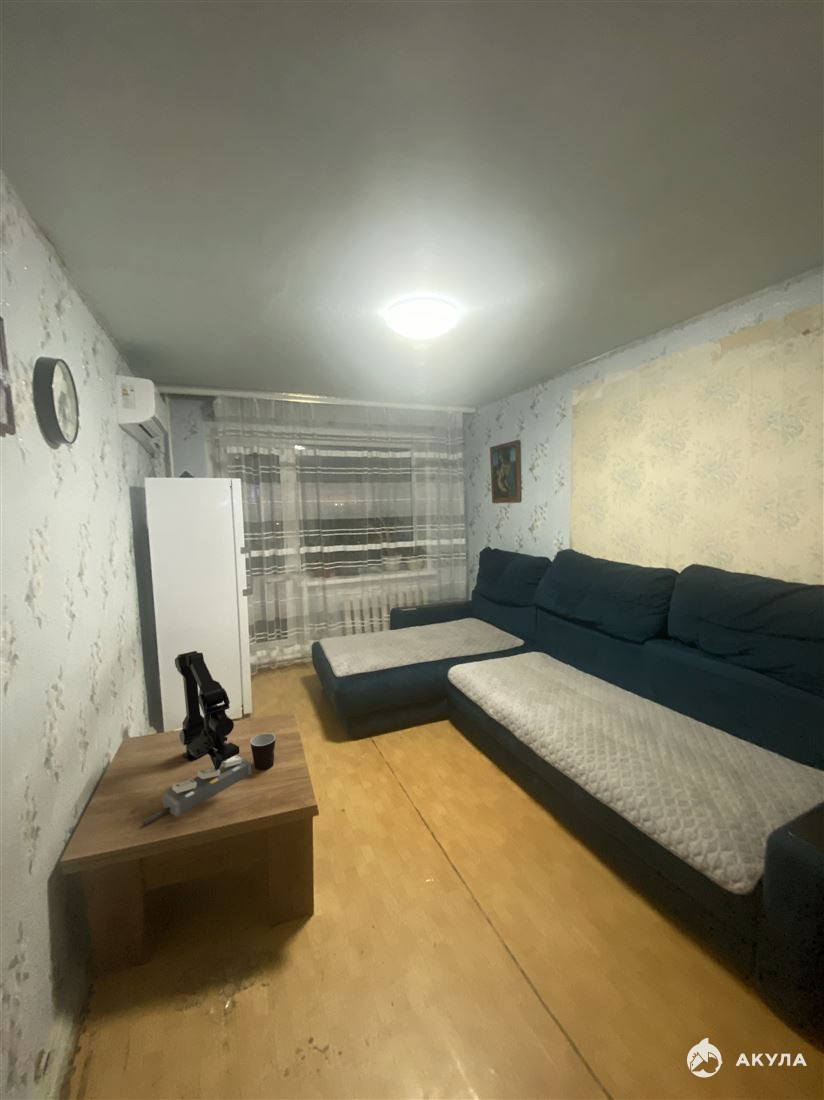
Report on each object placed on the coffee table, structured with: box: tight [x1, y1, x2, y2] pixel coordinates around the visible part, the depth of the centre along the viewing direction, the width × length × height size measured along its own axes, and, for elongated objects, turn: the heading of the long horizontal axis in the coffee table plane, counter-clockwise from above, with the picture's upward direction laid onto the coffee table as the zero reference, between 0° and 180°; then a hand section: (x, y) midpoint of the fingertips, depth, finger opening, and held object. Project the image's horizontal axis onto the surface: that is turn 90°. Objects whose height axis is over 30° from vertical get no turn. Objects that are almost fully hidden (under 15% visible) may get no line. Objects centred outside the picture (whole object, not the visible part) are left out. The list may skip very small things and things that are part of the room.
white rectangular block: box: [171, 778, 197, 793], centre depth 139 cm, size 3×6×2 cm, turn 144°
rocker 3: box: [221, 755, 242, 767], centre depth 152 cm, size 3×6×2 cm, turn 144°
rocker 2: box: [196, 766, 220, 779], centre depth 146 cm, size 3×6×2 cm, turn 144°
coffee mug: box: [249, 732, 276, 772], centre depth 160 cm, size 12×9×10 cm
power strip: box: [141, 754, 252, 826], centre depth 143 cm, size 8×34×4 cm, turn 144°
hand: (217, 768), depth 148 cm, fingers closed, pressing on rocker 2
